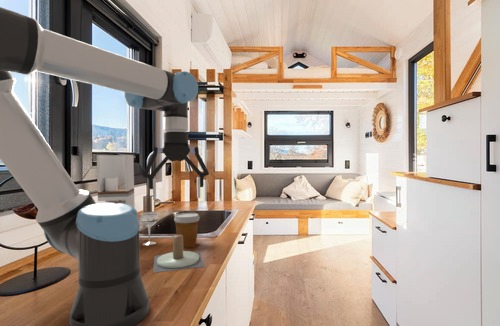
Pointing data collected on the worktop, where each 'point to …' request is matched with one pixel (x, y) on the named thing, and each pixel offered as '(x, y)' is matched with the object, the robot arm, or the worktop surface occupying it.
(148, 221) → the wineglass
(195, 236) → the disposable coffee cup
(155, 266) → the mat
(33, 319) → the worktop surface
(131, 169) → the grey box-shaped tower
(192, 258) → the lid
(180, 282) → the worktop surface
